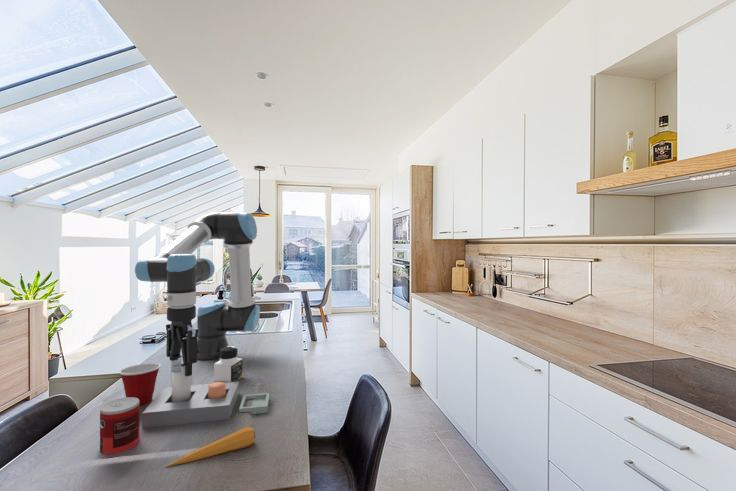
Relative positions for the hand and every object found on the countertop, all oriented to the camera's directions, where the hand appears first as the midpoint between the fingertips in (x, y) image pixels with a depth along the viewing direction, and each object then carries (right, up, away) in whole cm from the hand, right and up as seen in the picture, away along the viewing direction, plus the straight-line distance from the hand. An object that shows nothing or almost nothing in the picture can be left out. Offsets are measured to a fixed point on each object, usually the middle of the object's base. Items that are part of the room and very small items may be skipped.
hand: (181, 383), depth 98 cm
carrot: (+18, -10, -18) cm, 27 cm away
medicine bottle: (+4, -9, +24) cm, 26 cm away
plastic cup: (-15, -9, +5) cm, 18 cm away
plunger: (+10, -7, +2) cm, 12 cm away
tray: (+20, -9, +4) cm, 23 cm away
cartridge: (0, -6, 0) cm, 6 cm away
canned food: (-6, -9, -17) cm, 20 cm away
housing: (+4, -9, +1) cm, 10 cm away
